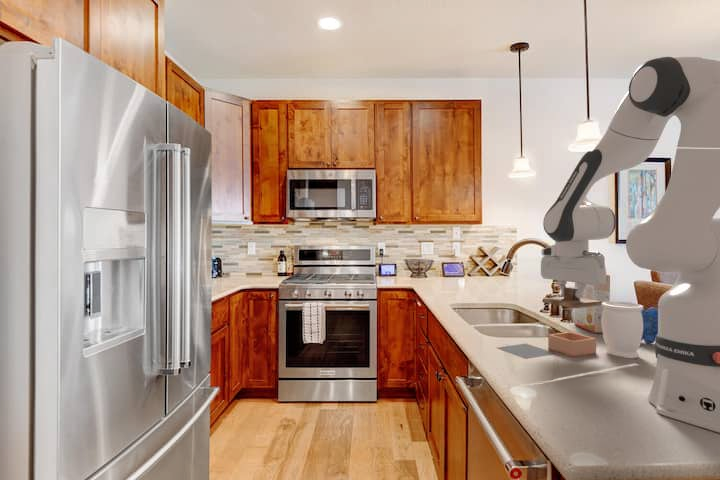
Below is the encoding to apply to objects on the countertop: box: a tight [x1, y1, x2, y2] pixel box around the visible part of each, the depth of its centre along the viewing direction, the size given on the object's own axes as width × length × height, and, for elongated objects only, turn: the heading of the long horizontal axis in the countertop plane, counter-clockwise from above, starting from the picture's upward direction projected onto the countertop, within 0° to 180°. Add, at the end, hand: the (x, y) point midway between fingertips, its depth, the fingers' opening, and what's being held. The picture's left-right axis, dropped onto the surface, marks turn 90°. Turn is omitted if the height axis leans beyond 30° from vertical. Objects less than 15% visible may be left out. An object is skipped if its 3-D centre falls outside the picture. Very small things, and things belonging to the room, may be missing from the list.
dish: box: [547, 331, 597, 358], centre depth 123 cm, size 9×9×5 cm
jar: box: [601, 301, 644, 359], centre depth 121 cm, size 11×10×15 cm
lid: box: [542, 286, 602, 309], centre depth 122 cm, size 11×11×5 cm
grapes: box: [641, 306, 658, 345], centre depth 133 cm, size 12×7×12 cm, turn 49°
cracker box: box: [573, 274, 611, 334], centre depth 153 cm, size 14×6×21 cm, turn 179°
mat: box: [497, 343, 558, 360], centre depth 124 cm, size 12×12×1 cm
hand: (571, 296), depth 122 cm, fingers closed on lid, 3 cm apart
